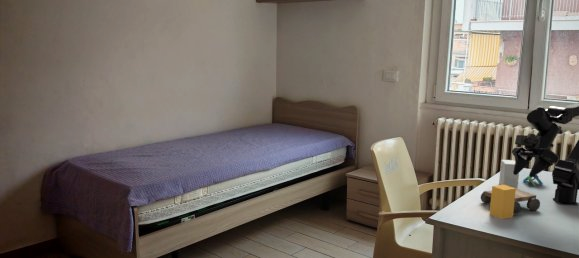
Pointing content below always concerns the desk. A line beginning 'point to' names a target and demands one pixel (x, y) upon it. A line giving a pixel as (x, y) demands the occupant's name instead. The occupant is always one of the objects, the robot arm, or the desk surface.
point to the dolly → (516, 200)
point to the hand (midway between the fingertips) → (522, 175)
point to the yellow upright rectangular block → (502, 201)
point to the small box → (508, 174)
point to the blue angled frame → (533, 179)
